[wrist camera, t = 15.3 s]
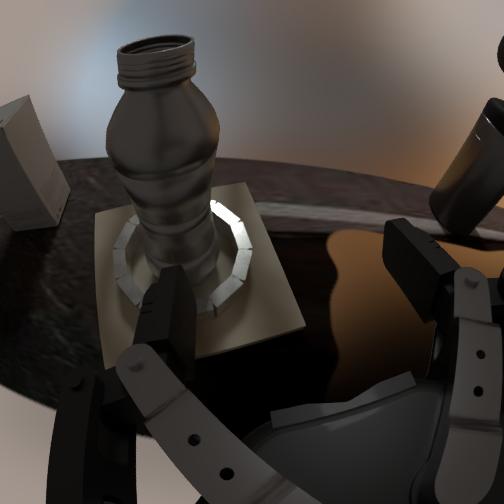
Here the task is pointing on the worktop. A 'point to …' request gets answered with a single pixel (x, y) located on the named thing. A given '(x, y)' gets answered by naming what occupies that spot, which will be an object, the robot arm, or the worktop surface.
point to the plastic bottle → (166, 153)
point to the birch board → (200, 285)
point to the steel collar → (206, 305)
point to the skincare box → (28, 170)
